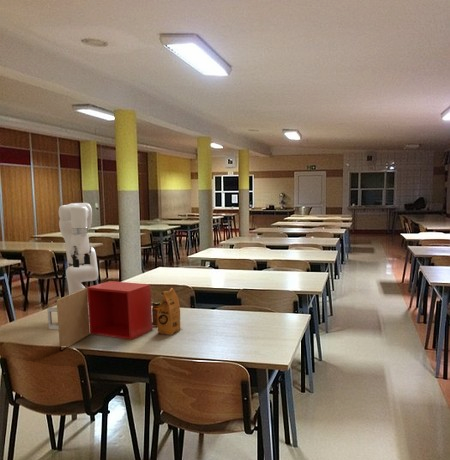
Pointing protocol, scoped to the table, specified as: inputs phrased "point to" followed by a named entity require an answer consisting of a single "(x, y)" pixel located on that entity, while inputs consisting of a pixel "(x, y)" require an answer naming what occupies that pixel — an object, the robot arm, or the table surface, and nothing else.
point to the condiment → (155, 313)
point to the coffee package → (169, 313)
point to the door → (71, 317)
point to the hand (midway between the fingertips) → (81, 265)
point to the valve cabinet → (120, 309)
